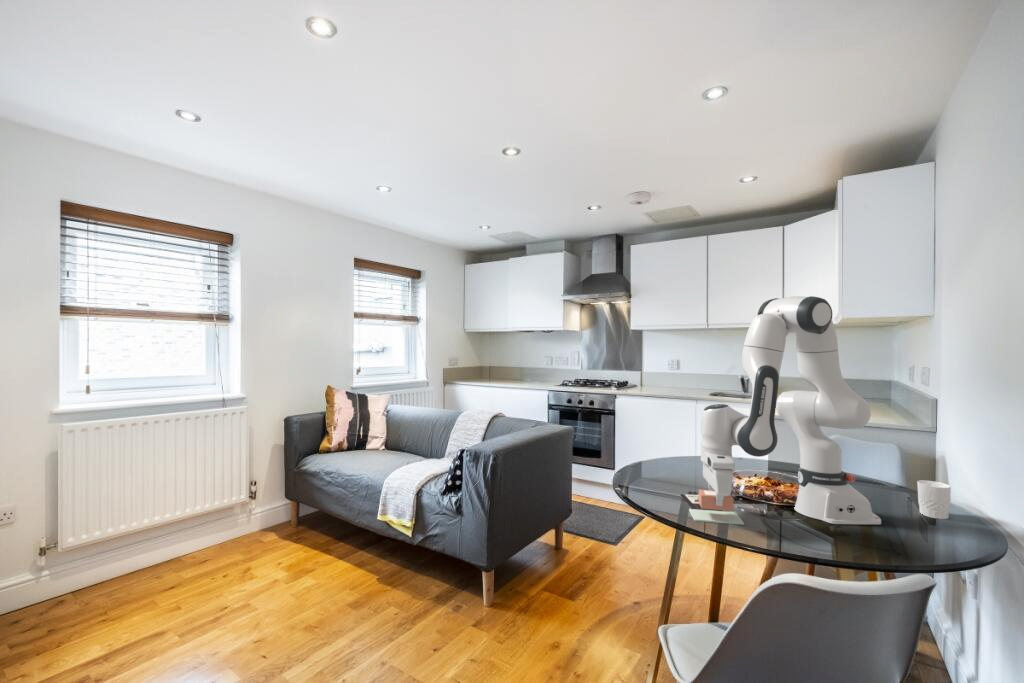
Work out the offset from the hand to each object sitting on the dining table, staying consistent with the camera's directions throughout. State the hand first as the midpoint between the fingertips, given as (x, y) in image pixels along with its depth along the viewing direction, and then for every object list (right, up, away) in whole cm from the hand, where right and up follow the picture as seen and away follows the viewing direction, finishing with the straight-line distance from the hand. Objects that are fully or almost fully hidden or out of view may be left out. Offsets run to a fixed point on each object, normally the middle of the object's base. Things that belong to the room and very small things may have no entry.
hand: (715, 501), depth 141 cm
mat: (0, -5, 0) cm, 5 cm away
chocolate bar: (+1, -6, +11) cm, 13 cm away
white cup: (+71, -6, +3) cm, 71 cm away
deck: (0, -2, 0) cm, 2 cm away
